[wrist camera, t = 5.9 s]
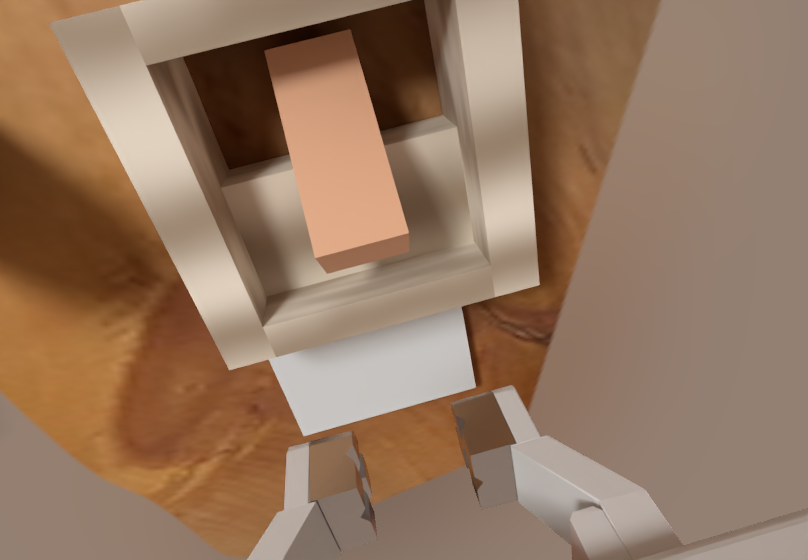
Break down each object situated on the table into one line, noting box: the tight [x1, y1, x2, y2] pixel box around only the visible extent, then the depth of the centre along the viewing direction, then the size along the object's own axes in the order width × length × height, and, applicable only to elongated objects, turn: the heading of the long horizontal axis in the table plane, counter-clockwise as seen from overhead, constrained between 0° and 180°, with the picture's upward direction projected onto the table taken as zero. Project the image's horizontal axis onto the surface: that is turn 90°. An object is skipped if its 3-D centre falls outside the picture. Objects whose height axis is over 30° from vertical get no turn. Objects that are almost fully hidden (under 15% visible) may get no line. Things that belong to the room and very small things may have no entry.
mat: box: [269, 306, 476, 436], centre depth 34 cm, size 9×13×1 cm
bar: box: [264, 29, 409, 274], centre depth 23 cm, size 10×4×3 cm
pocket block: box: [49, 0, 540, 370], centre depth 25 cm, size 16×17×6 cm
